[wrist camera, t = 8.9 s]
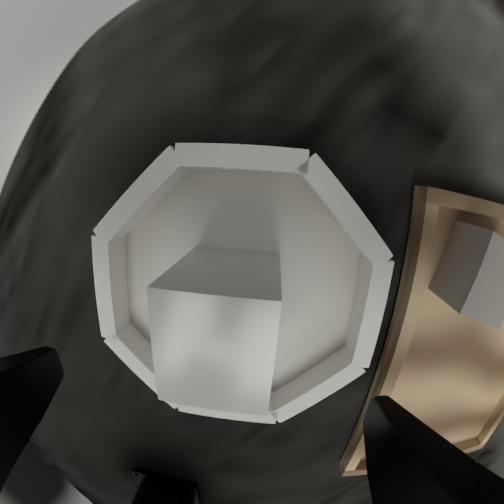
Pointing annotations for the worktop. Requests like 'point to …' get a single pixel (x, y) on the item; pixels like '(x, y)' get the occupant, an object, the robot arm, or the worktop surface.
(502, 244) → the grey cubic piece
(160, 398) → the grey rectangular block
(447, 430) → the tray
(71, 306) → the worktop surface
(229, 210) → the bowl
